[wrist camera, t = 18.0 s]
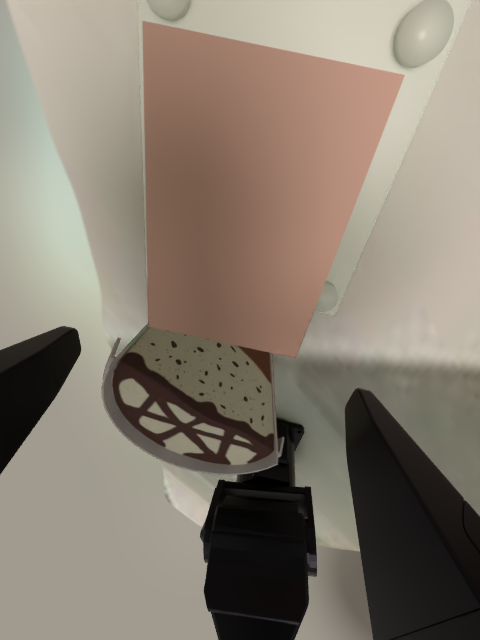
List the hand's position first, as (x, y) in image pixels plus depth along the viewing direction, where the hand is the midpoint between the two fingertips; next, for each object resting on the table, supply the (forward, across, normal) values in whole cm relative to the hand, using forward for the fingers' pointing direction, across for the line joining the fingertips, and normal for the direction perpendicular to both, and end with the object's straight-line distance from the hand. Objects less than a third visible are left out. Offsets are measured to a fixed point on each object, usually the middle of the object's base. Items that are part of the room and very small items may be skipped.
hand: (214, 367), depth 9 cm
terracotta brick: (+6, 0, -4) cm, 8 cm away
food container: (+13, +2, +10) cm, 17 cm away
